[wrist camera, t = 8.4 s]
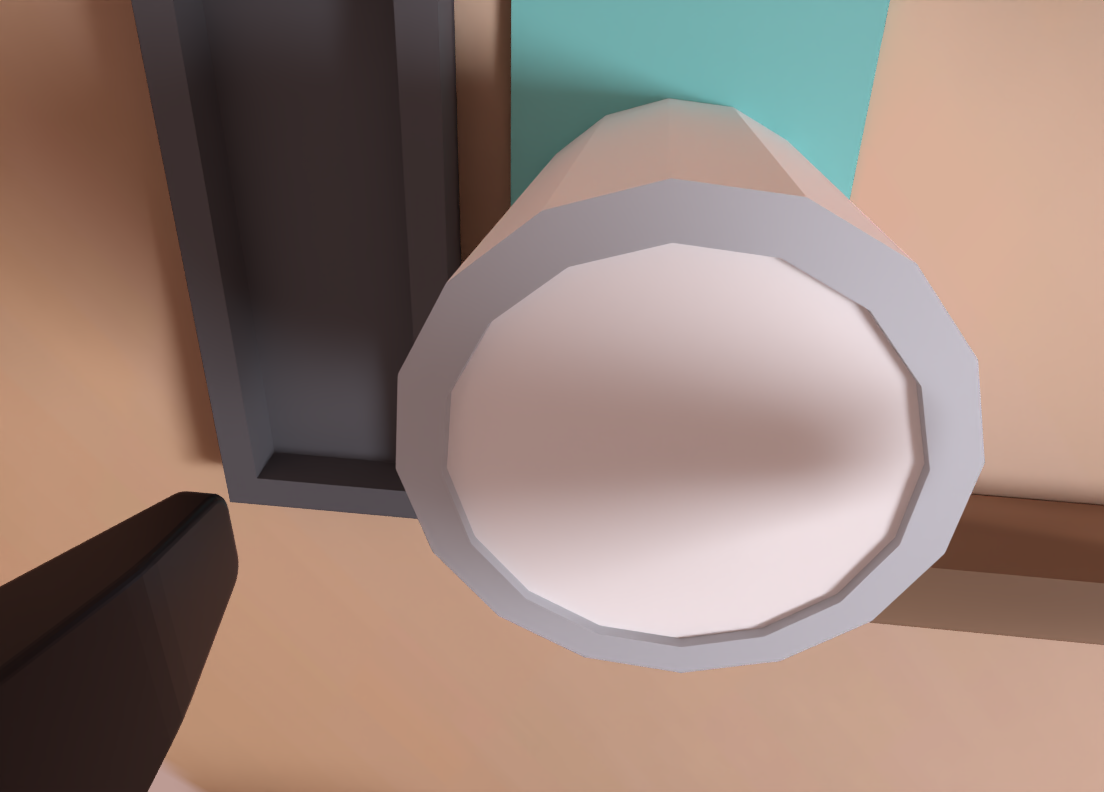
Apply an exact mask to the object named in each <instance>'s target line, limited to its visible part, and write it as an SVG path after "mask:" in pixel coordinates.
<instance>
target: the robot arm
mask: <svg viewBox="0 0 1104 792" xmlns="http://www.w3.org/2000/svg"><path fill="white" fill-rule="evenodd" d="M237 574H238V555H237V550H236V545H235V540H234V535H233V530H232V525H231V520H230V515H229V510H228V507H227V504H226V502H225V500H224V499H223V498H222V497H221V496H219V495H217V494H211V493H199V492H188V491H186V492H178V493H176V494H174V495H172V496H170V497H168V498H166V499H164V500H162V501H161V502H159V503H157V504H155V505H153V506H151V507H149V508H147V509H146V510H144V511H142V512H140V513H138V514H136V515H134V516H132V517H130V518H129V519H127V520H125V521H123V522H121V523H119V524H117V525H115V526H113V527H112V528H110V529H108V530H106V531H104V532H102V533H100V534H98V535H97V536H95V537H93V538H91V539H89V540H87V541H85V542H83V543H81V544H80V545H78V546H76V547H74V548H72V549H70V550H68V551H66V552H65V553H63V554H61V555H59V556H57V557H55V558H53V559H51V560H49V561H48V562H46V563H44V564H42V565H40V566H38V567H36V568H34V569H32V570H31V571H29V572H27V573H25V574H23V575H21V576H19V577H17V578H15V579H14V580H12V581H10V582H8V583H6V584H4V585H2V586H0V792H148V790H149V788H150V786H151V784H152V782H153V780H154V778H155V776H156V774H157V772H158V770H159V768H160V766H161V764H162V762H163V760H164V758H165V756H166V754H167V752H168V750H169V748H170V746H171V744H172V742H173V740H174V738H175V736H176V734H177V732H178V730H179V728H180V726H181V723H182V721H183V719H184V717H185V714H186V712H187V709H188V707H189V704H190V702H191V700H192V697H193V694H194V692H195V689H196V687H197V684H198V681H199V679H200V676H201V673H202V671H203V668H204V665H205V663H206V660H207V657H208V655H209V652H210V649H211V647H212V644H213V641H214V639H215V636H216V633H217V631H218V628H219V625H220V623H221V620H222V617H223V615H224V612H225V610H226V607H227V604H228V602H229V599H230V596H231V594H232V591H233V588H234V586H235V583H236V579H237Z"/></svg>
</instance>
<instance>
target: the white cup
mask: <svg viewBox="0 0 1104 792" xmlns="http://www.w3.org/2000/svg"><path fill="white" fill-rule="evenodd" d="M984 463H985V459H984V444H983V428H982V413H981V398H980V382H979V367H978V359H977V358H976V356H975V354H974V353H973V351H972V350H971V348H970V347H969V345H968V343H967V342H966V340H965V339H964V337H963V336H962V334H961V332H960V331H959V329H958V328H957V326H956V325H955V323H954V321H953V320H952V318H951V317H950V315H949V314H948V312H947V310H946V309H945V307H944V306H943V304H942V303H941V301H940V299H939V298H938V296H937V295H936V293H935V292H934V290H933V289H932V287H931V285H930V284H929V282H928V281H927V279H926V278H925V276H924V274H923V273H922V271H921V270H920V268H919V267H918V265H917V264H916V263H915V262H914V261H913V260H912V259H911V258H910V257H909V256H908V255H907V254H906V253H905V252H904V251H903V250H902V249H901V248H900V247H899V246H898V245H896V244H895V243H894V242H893V241H892V240H891V239H890V238H889V237H888V236H887V235H886V234H885V233H884V232H883V231H882V230H881V229H880V228H879V227H878V226H877V225H875V224H874V223H873V222H872V221H871V220H870V219H869V218H868V217H867V216H866V215H865V214H864V213H863V212H862V211H861V210H860V209H859V208H858V207H857V206H855V205H854V204H853V203H852V202H851V201H850V200H849V199H848V198H847V197H846V196H845V195H844V194H843V193H842V192H841V191H840V190H839V189H838V188H837V187H836V186H834V185H833V184H832V183H831V182H830V181H829V180H828V179H827V178H826V177H825V176H824V175H823V174H822V173H821V172H820V171H819V170H818V169H817V168H816V167H814V166H813V165H812V164H811V163H810V162H809V161H808V160H807V159H806V158H805V157H804V156H803V155H802V154H801V153H800V152H799V151H798V150H797V149H796V148H795V147H793V146H792V145H791V144H790V143H789V142H788V141H787V140H786V139H784V138H782V137H781V136H779V135H778V134H776V133H774V132H773V131H771V130H769V129H768V128H766V127H765V126H763V125H761V124H760V123H758V122H756V121H755V120H753V119H752V118H750V117H748V116H747V115H745V114H743V113H742V112H740V111H739V110H737V109H735V108H734V107H729V106H722V105H714V104H707V103H700V102H692V101H685V100H678V99H670V98H668V99H664V100H660V101H657V102H653V103H649V104H645V105H642V106H638V107H634V108H631V109H627V110H623V111H620V112H616V113H612V114H609V115H605V116H604V117H603V118H602V119H600V120H599V121H598V122H596V123H595V124H594V125H593V126H591V127H590V128H589V129H587V130H586V131H585V132H584V133H582V134H581V135H580V136H578V137H577V138H576V139H575V140H573V141H572V142H571V143H569V144H568V145H567V146H566V147H564V148H563V149H562V150H560V151H559V152H558V153H557V154H556V155H555V156H554V157H553V158H552V159H551V160H550V162H549V163H548V164H547V165H546V166H545V167H544V169H543V170H542V171H541V172H540V173H539V175H538V176H537V177H536V178H535V179H534V180H533V182H532V183H531V184H530V185H529V186H528V187H527V189H526V190H525V191H524V192H523V193H522V194H521V196H520V197H519V198H518V199H517V200H516V201H515V203H514V204H513V205H512V206H511V207H510V209H509V210H508V211H507V212H506V213H505V214H504V216H503V217H502V218H501V219H500V220H499V221H498V223H497V224H496V225H495V226H494V227H493V228H492V230H491V231H490V232H489V233H488V234H487V235H486V237H485V238H484V239H483V240H482V241H481V243H480V244H479V245H478V246H477V247H476V248H475V250H474V251H473V252H472V253H471V254H470V255H469V257H468V258H467V259H466V260H465V261H464V262H463V264H462V265H461V266H460V267H459V268H458V270H457V271H456V272H455V273H454V274H453V275H452V277H451V278H450V279H449V280H448V281H447V282H446V284H445V286H444V288H443V290H442V292H441V294H440V296H439V298H438V299H437V301H436V303H435V305H434V307H433V309H432V311H431V313H430V315H429V316H428V318H427V320H426V322H425V324H424V326H423V328H422V330H421V332H420V333H419V335H418V337H417V339H416V341H415V343H414V345H413V347H412V349H411V350H410V352H409V354H408V356H407V358H406V360H405V362H404V364H403V366H402V367H401V369H400V371H399V373H398V387H397V432H396V470H397V473H398V475H399V477H400V479H401V482H402V484H403V486H404V488H405V491H406V493H407V495H408V497H409V500H410V502H411V504H412V506H413V509H414V511H415V513H416V515H417V518H418V520H419V522H420V524H421V527H422V529H423V531H424V533H425V536H426V538H427V540H428V542H429V545H430V547H431V549H432V551H433V553H434V554H435V555H437V556H438V557H439V558H440V559H441V560H442V561H443V562H444V563H445V564H446V565H447V566H448V567H449V568H450V569H451V570H452V571H453V572H454V573H455V574H456V575H457V576H458V577H459V578H460V579H461V580H462V581H463V582H464V583H465V584H466V585H467V586H468V587H469V588H470V589H471V590H472V591H474V592H475V593H476V594H477V595H478V596H479V597H480V598H481V599H482V600H483V601H484V602H485V603H486V604H487V605H488V606H489V607H490V608H491V609H492V610H493V611H494V612H495V613H496V614H497V615H498V616H500V617H502V618H504V619H506V620H508V621H510V622H512V623H514V624H516V625H518V626H521V627H523V628H525V629H527V630H529V631H531V632H533V633H535V634H537V635H539V636H541V637H543V638H546V639H548V640H550V641H552V642H554V643H556V644H558V645H560V646H562V647H564V648H566V649H568V650H570V651H573V652H575V653H577V654H579V655H581V656H583V657H586V658H593V659H599V660H605V661H611V662H617V663H624V664H630V665H636V666H642V667H648V668H655V669H661V670H667V671H673V672H679V673H683V672H692V671H700V670H708V669H717V668H725V667H734V666H742V665H751V664H759V663H768V662H776V661H781V660H784V659H786V658H788V657H790V656H793V655H795V654H797V653H800V652H802V651H804V650H806V649H809V648H811V647H813V646H816V645H818V644H820V643H823V642H825V641H827V640H829V639H832V638H834V637H836V636H839V635H841V634H843V633H845V632H848V631H850V630H852V629H855V628H857V627H859V626H862V625H864V624H866V623H868V622H871V621H872V620H873V619H875V618H876V617H877V616H878V615H879V614H880V613H881V612H882V611H883V610H884V609H885V608H886V607H887V606H889V605H890V604H891V603H892V602H893V601H894V600H895V599H896V598H897V597H898V596H899V595H900V594H901V593H903V592H904V591H905V590H906V589H907V588H908V587H909V586H910V585H911V584H912V583H913V582H914V581H916V580H917V579H918V578H919V577H920V576H921V575H922V574H923V573H924V572H925V571H926V570H927V569H928V568H930V567H931V566H932V565H933V564H934V563H935V562H936V561H937V560H938V559H939V558H940V557H941V556H942V555H944V554H945V552H946V549H947V547H948V545H949V543H950V540H951V538H952V536H953V534H954V531H955V529H956V527H957V524H958V522H959V520H960V518H961V515H962V513H963V511H964V509H965V506H966V504H967V502H968V500H969V497H970V495H971V493H972V491H973V488H974V486H975V484H976V481H977V479H978V477H979V475H980V472H981V470H982V468H983V466H984Z"/></svg>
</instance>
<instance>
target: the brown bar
mask: <svg viewBox="0 0 1104 792" xmlns="http://www.w3.org/2000/svg"><path fill="white" fill-rule="evenodd" d="M870 623H880V624H891V625H901V626H911V627H922V628H932V629H943V630H953V631H963V632H974V633H984V634H995V635H1005V636H1016V637H1026V638H1036V639H1047V640H1057V641H1068V642H1078V643H1088V644H1099V645H1104V506H1102V505H1090V504H1078V503H1066V502H1055V501H1043V500H1031V499H1019V498H1007V497H995V496H983V495H970V497H969V500H968V502H967V504H966V506H965V509H964V511H963V513H962V515H961V518H960V520H959V522H958V524H957V527H956V529H955V531H954V534H953V536H952V538H951V540H950V543H949V545H948V547H947V549H946V552H945V554H944V555H942V556H941V557H940V558H939V559H938V560H937V561H936V562H935V563H934V564H933V565H932V566H931V567H930V568H928V569H927V570H926V571H925V572H924V573H923V574H922V575H921V576H920V577H919V578H918V579H917V580H916V581H914V582H913V583H912V584H911V585H910V586H909V587H908V588H907V589H906V590H905V591H904V592H903V593H901V594H900V595H899V596H898V597H897V598H896V599H895V600H894V601H893V602H892V603H891V604H890V605H889V606H887V607H886V608H885V609H884V610H883V611H882V612H881V613H880V614H879V615H878V616H877V617H876V618H875V619H873V620H872V621H871V622H870Z"/></svg>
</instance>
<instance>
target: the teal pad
mask: <svg viewBox="0 0 1104 792" xmlns="http://www.w3.org/2000/svg"><path fill="white" fill-rule="evenodd" d="M889 2H890V0H511V206H512V205H513V204H514V203H515V201H516V200H517V199H518V198H519V197H520V196H521V194H522V193H523V192H524V191H525V190H526V189H527V187H528V186H529V185H530V184H531V183H532V182H533V180H534V179H535V178H536V177H537V176H538V175H539V173H540V172H541V171H542V170H543V169H544V167H545V166H546V165H547V164H548V163H549V162H550V160H551V159H552V158H553V157H554V156H555V155H556V154H557V153H558V152H559V151H560V150H562V149H563V148H564V147H566V146H567V145H568V144H569V143H571V142H572V141H573V140H575V139H576V138H577V137H578V136H580V135H581V134H582V133H584V132H585V131H586V130H587V129H589V128H590V127H591V126H593V125H594V124H595V123H596V122H598V121H599V120H600V119H602V118H603V117H604V116H605V115H609V114H612V113H616V112H620V111H623V110H627V109H631V108H634V107H638V106H642V105H645V104H649V103H653V102H657V101H660V100H664V99H668V98H670V99H678V100H685V101H692V102H700V103H707V104H714V105H722V106H729V107H734V108H735V109H737V110H739V111H740V112H742V113H743V114H745V115H747V116H748V117H750V118H752V119H753V120H755V121H756V122H758V123H760V124H761V125H763V126H765V127H766V128H768V129H769V130H771V131H773V132H774V133H776V134H778V135H779V136H781V137H782V138H784V139H786V140H787V141H788V142H789V143H790V144H791V145H792V146H793V147H795V148H796V149H797V150H798V151H799V152H800V153H801V154H802V155H803V156H804V157H805V158H806V159H807V160H808V161H809V162H810V163H811V164H812V165H813V166H814V167H816V168H817V169H818V170H819V171H820V172H821V173H822V174H823V175H824V176H825V177H826V178H827V179H828V180H829V181H830V182H831V183H832V184H833V185H834V186H836V187H837V188H838V189H839V190H840V191H841V192H842V193H843V194H844V195H845V196H846V197H847V198H848V199H849V200H850V195H851V190H852V185H853V180H854V175H855V170H856V165H857V160H858V155H859V150H860V145H861V140H862V135H863V130H864V125H865V120H866V116H867V111H868V106H869V101H870V96H871V91H872V86H873V81H874V76H875V71H876V66H877V61H878V56H879V51H880V46H881V41H882V36H883V32H884V27H885V22H886V17H887V12H888V7H889Z"/></svg>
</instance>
